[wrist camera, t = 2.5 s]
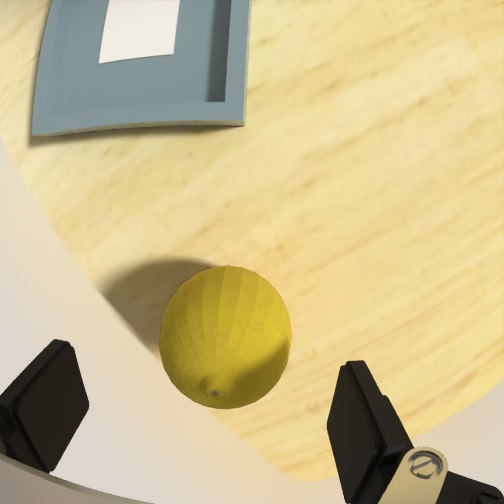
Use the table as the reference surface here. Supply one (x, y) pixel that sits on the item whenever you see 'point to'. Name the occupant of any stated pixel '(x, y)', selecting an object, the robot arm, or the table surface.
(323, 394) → the table surface
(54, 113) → the tray
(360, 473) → the robot arm
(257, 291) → the lemon
